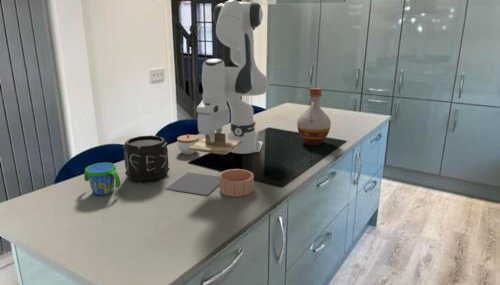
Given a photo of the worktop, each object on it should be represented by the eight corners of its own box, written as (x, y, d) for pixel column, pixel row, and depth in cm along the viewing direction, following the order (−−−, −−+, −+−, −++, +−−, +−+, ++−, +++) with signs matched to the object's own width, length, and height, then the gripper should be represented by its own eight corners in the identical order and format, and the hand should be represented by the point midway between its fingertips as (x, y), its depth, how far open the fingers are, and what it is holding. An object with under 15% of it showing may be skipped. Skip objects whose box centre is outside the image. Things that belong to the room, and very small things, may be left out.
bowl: (227, 181, 152) (227, 167, 151) (257, 185, 148) (257, 171, 146) (214, 193, 141) (213, 179, 139) (246, 199, 136) (246, 183, 135)
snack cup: (128, 191, 143) (126, 166, 140) (106, 201, 134) (103, 175, 131) (101, 183, 150) (98, 159, 147) (78, 192, 141) (74, 167, 138)
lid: (206, 139, 151) (206, 127, 150) (241, 143, 146) (241, 130, 145) (188, 150, 138) (187, 137, 136) (225, 154, 133) (225, 141, 131)
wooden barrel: (124, 187, 146) (120, 149, 142) (126, 171, 163) (123, 136, 158) (171, 182, 151) (168, 145, 146) (168, 167, 168) (166, 133, 163)
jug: (326, 150, 191) (330, 92, 182) (292, 147, 196) (294, 90, 187) (331, 140, 208) (335, 86, 199) (299, 137, 214) (302, 84, 205)
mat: (187, 173, 161) (187, 172, 161) (226, 178, 155) (226, 177, 155) (165, 189, 144) (165, 188, 144) (207, 196, 139) (207, 195, 139)
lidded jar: (195, 156, 181) (194, 138, 179) (174, 155, 183) (173, 136, 181) (202, 149, 191) (201, 132, 189) (182, 148, 193) (181, 131, 191)
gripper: (218, 99, 148) (219, 132, 152) (193, 108, 129) (195, 146, 133) (233, 100, 145) (233, 134, 150) (210, 110, 127) (211, 148, 131)
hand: (215, 140), depth 141 cm, fingers closed on lid, 3 cm apart
